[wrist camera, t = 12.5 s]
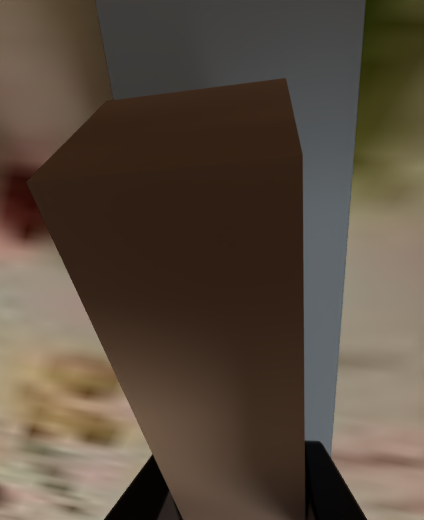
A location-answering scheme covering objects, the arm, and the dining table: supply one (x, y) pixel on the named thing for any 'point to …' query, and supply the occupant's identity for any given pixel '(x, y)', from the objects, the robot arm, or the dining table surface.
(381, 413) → the dining table surface
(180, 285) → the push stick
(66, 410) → the dining table surface
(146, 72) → the grey flat bar
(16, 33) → the dining table surface
